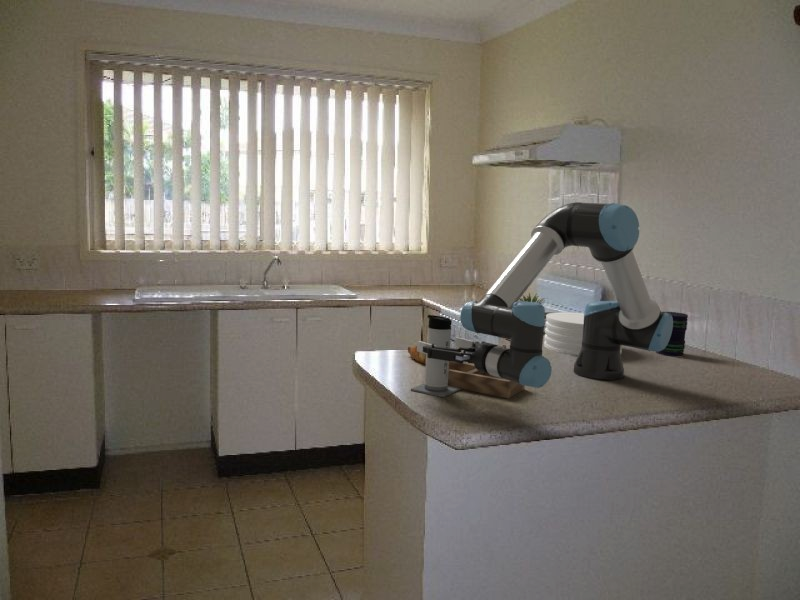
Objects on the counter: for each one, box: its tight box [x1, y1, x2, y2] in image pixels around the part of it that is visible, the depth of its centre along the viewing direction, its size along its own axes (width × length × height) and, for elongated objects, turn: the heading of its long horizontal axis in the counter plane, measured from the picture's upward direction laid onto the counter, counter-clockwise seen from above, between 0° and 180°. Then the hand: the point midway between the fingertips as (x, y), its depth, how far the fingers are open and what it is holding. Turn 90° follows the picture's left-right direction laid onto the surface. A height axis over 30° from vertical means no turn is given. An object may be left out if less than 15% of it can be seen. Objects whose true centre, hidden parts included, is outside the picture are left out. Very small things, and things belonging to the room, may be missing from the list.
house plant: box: [519, 292, 547, 304], centre depth 289 cm, size 14×14×16 cm
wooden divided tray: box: [448, 361, 525, 399], centre depth 197 cm, size 25×12×4 cm, turn 59°
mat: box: [410, 382, 462, 398], centre depth 190 cm, size 10×10×1 cm
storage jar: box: [655, 311, 689, 357], centre depth 258 cm, size 10×10×15 cm
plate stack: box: [543, 311, 623, 356], centre depth 259 cm, size 28×28×12 cm
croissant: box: [407, 341, 427, 365], centre depth 224 cm, size 21×10×8 cm, turn 44°
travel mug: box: [424, 314, 453, 391], centre depth 189 cm, size 6×7×20 cm
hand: (437, 343), depth 189 cm, fingers open, 13 cm apart
